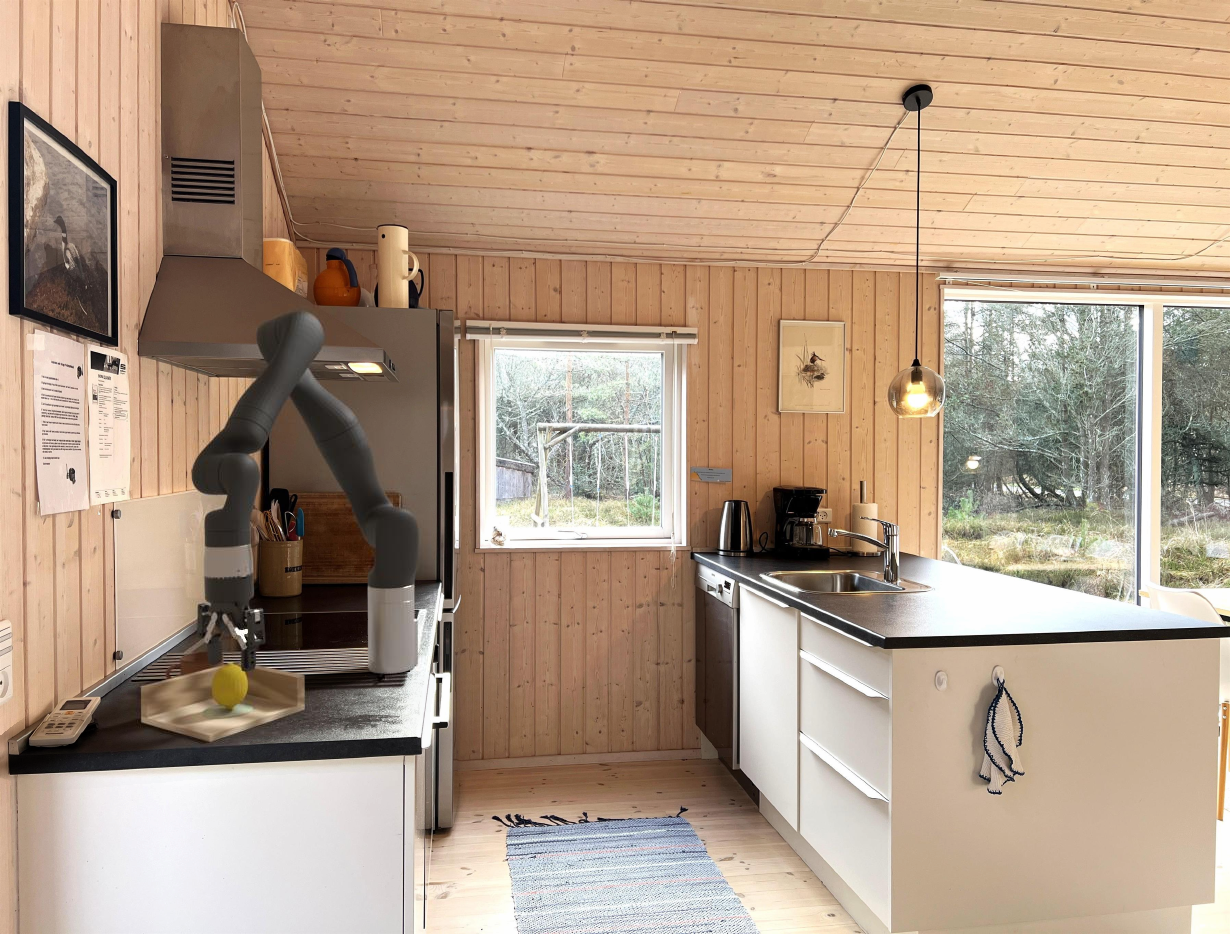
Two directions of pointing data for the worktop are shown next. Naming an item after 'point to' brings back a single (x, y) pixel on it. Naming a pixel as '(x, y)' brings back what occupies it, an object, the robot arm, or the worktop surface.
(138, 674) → the worktop surface
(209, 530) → the robot arm
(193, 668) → the cup and saucer
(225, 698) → the lemon
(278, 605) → the worktop surface
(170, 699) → the tray
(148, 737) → the worktop surface
